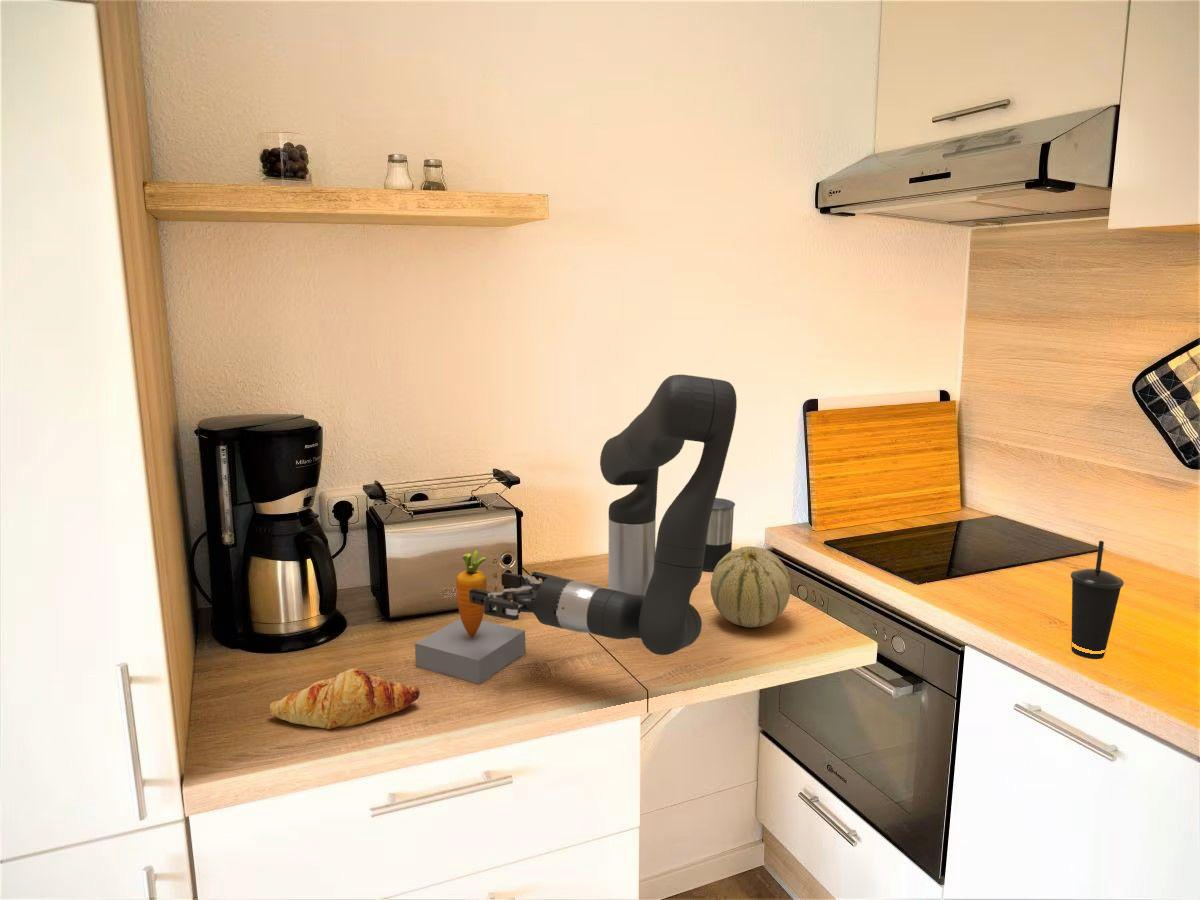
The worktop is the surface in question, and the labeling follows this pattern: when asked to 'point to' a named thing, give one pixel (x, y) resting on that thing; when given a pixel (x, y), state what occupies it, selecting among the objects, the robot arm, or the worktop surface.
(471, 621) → the carrot
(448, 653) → the base block
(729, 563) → the cantaloupe
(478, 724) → the worktop surface
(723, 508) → the milk frother
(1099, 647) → the drinking cup
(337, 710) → the croissant
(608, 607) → the robot arm
